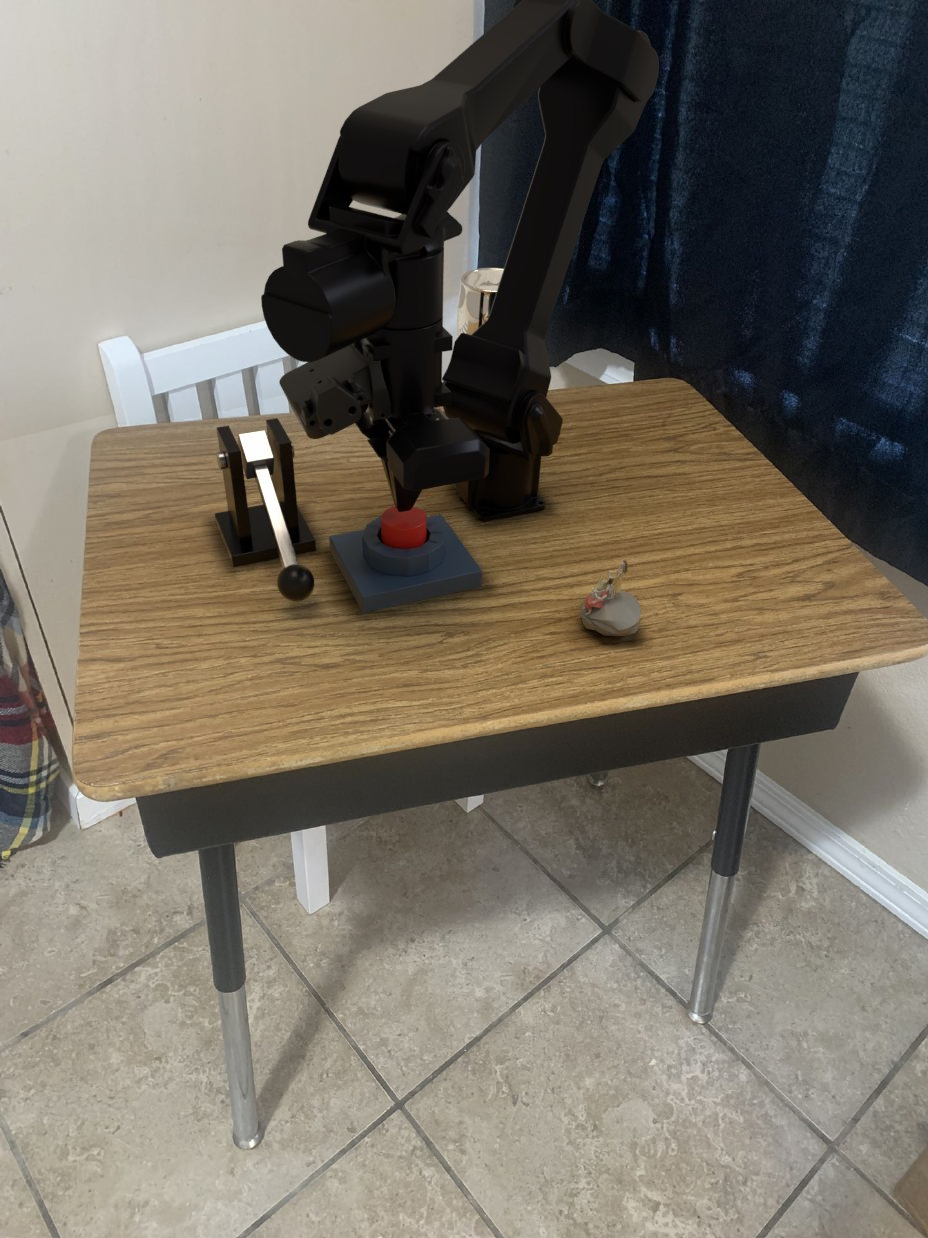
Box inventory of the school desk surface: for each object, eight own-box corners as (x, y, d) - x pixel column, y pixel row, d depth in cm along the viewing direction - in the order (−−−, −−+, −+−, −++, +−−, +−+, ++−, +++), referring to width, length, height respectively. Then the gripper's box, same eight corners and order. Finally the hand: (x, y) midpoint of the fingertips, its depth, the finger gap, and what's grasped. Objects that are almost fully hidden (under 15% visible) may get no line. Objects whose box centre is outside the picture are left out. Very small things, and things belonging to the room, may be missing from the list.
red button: (417, 522, 80) (417, 501, 79) (433, 545, 78) (433, 524, 76) (375, 531, 79) (374, 509, 78) (390, 554, 77) (389, 532, 75)
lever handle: (317, 603, 75) (320, 586, 73) (281, 611, 74) (283, 593, 72) (268, 448, 81) (269, 427, 78) (234, 453, 80) (234, 432, 77)
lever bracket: (316, 551, 82) (308, 447, 76) (233, 568, 80) (218, 462, 74) (294, 510, 87) (285, 409, 81) (215, 524, 85) (200, 421, 79)
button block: (440, 530, 85) (441, 495, 83) (481, 587, 79) (483, 551, 77) (329, 552, 82) (327, 517, 80) (363, 614, 76) (361, 577, 73)
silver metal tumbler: (515, 443, 98) (526, 295, 89) (448, 435, 99) (451, 287, 90) (526, 413, 103) (537, 270, 94) (462, 405, 104) (466, 263, 95)
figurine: (647, 643, 74) (659, 579, 70) (593, 653, 73) (602, 588, 69) (619, 602, 78) (629, 539, 74) (567, 611, 77) (574, 547, 73)
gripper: (253, 281, 71) (272, 470, 81) (326, 386, 58) (339, 597, 67) (397, 266, 75) (400, 448, 84) (498, 361, 61) (487, 565, 71)
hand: (403, 509), depth 77 cm, fingers closed
